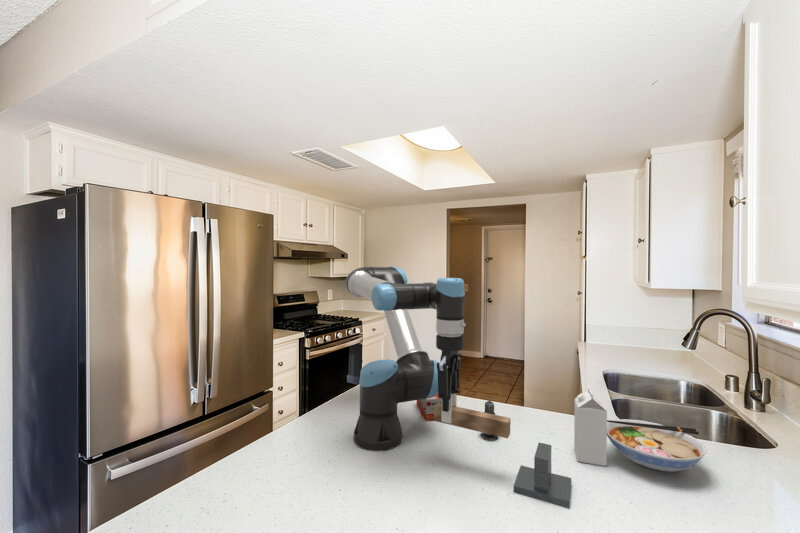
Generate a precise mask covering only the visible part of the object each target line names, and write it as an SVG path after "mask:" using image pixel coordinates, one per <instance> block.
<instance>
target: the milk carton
mask: <svg viewBox="0 0 800 533" xmlns="http://www.w3.org/2000/svg"><path fill="white" fill-rule="evenodd" d="M573 418H574V419H573V420H574V421H573V423H574V427H573V429H574V430H573V431H574V433H573V434H574V437H573V438H574V439H573V440H574V441H573V446H574V448H573V450H574V454H575V458H576V461H577V462H579V463H584V464H590V465H597V466H602V467H607V466H608V465H607V462H608V460H607V455H608V454H607V453H608V452H607V451H608V449H607V448H608V446H607V445H608V443H607V442H608V441H607V440H608V436H607V423H608V422H607V420H608V410H607V409H606V407H605V405H604V403H603V402H602V401H601V400H600V399H599V398H598V397H597V396H595V395H594V394H593V393H592V391H591V389H590V387H589V386H587V390H586V391H585V392H581V393H579V394H578V395H577V396H576V397H575V398H574V417H573Z"/></svg>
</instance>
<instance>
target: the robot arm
mask: <svg viewBox="0 0 800 533" xmlns="http://www.w3.org/2000/svg"><path fill="white" fill-rule="evenodd" d="M345 287H346V289H347V291H348V293H350V294H351V295H352V296H354V297H356V298H365V299H367V300H369V301H371V302H372V303H371V304H372V306H373V308H374V309H375V310H377V311H383V312H384V315H385V319H386V322H387V325H388V329H389V331H390V333H389V334H390V337H391V339H392V343H393V345H394V349H395V352H396V356H397V359H396V360H393V359H378V360H374V361H370V362H368V363H366V364H365V365H364V366H362V367H361V369H360V373H359V375H360V376H359V381H358V382H359V383H358V384H359V414H358V418H357V421H356V425H355V427H354V431H353V442H354V444H355V445H356V446H357V447H359V448H361V449H363V450H367V451H375V452H376V451H377V452H378V451H379V452H380V451H388V450H391V449H393V448H396V447H398V446H399V445H401V443H402V442H403V439H404V438H403V436H404V435H403V433H404V432H403V428H402V424H401V422H400V421H401V420H400V419H399V414H398V404H400V403H401V404H402V403H407V402H413V401H417V400H421V399H427V398H431V397H434V396H436V395H437V394H438V398H441V399H442V411H441V422H446V423H450V424H451V423H452V406H456V407H457V400H458V399H457V394H458V395H459V394H460V393H461V390H460V386H461V383H460V381H461V361H462V353H459V351H462V350H463V349H464V347H465V345H464V344H465V342H464V341H465V338H464V335H463V334H464V330H465V327H466V326H467V325H466V323H465V300H466V299H465V294H466V291H465V282H464V279H463V278H459V277H438V278H437V280H436V283H435V282H422V283H421V282H420V283H408V278H407V275H406V272H405V271H404V270H403V268H400V267H396V266H362V267H357V268H356V269H354V270H351V271H350V273H348V275H347V277H346V279H345ZM419 309H420V310H425V309H427V310H428V309H432V310H436V318H435V319H436V320H435V321H436V322H435V323H436V324H435V326H436V327H435V332H436V333H437V334H436V336H435V348H437V349H438V350H440V351H441V355H440V362H438V361H437V360H434V359H430V356H429V353H428V352H427V351H425V350H422V348H421V344H420V342H419V339H418V338H419V337H418V336H417V333H416V330H415V328H414V325H413V324H414V323H413V322H412V319H411V315H410V312H409V310H419ZM441 422H440V423H441Z"/></svg>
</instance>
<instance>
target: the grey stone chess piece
mask: <svg viewBox="0 0 800 533" xmlns="http://www.w3.org/2000/svg"><path fill="white" fill-rule="evenodd" d="M483 412H484V413H489V414H494V415H496V413H495V404H494V402H493V401H492V400H491V398H489V399H488V400H487V401H485V403H484V411H483ZM480 437H481V439H482V440H486V441H490V442H494V441H497V440H498V439H499V436H495V435H491V434H487V433H483V432H481V434H480Z"/></svg>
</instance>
